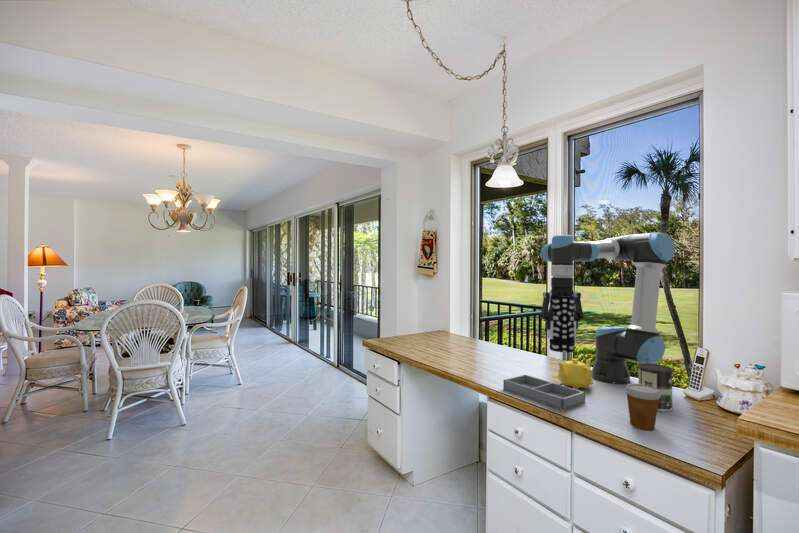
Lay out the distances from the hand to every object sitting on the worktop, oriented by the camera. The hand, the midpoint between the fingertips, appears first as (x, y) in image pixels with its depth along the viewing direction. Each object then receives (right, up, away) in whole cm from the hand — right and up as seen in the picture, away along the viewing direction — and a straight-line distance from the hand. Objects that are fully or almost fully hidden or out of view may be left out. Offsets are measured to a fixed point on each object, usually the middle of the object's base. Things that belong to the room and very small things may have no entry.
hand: (561, 338), depth 139 cm
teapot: (+14, -24, +17) cm, 32 cm away
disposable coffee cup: (+16, -24, -21) cm, 36 cm away
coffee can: (+32, -24, -4) cm, 40 cm away
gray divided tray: (-5, -24, +6) cm, 25 cm away
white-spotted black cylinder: (0, -5, 0) cm, 5 cm away
